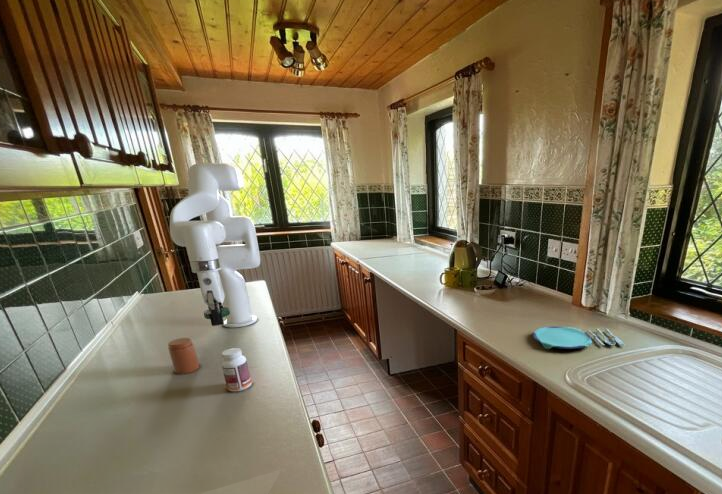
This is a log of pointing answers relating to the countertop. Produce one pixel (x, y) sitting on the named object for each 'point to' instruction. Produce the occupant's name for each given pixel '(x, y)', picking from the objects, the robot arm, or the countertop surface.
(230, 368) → the pill bottle
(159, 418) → the countertop surface
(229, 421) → the countertop surface
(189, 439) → the countertop surface
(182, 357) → the jam jar
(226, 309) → the jar lid
